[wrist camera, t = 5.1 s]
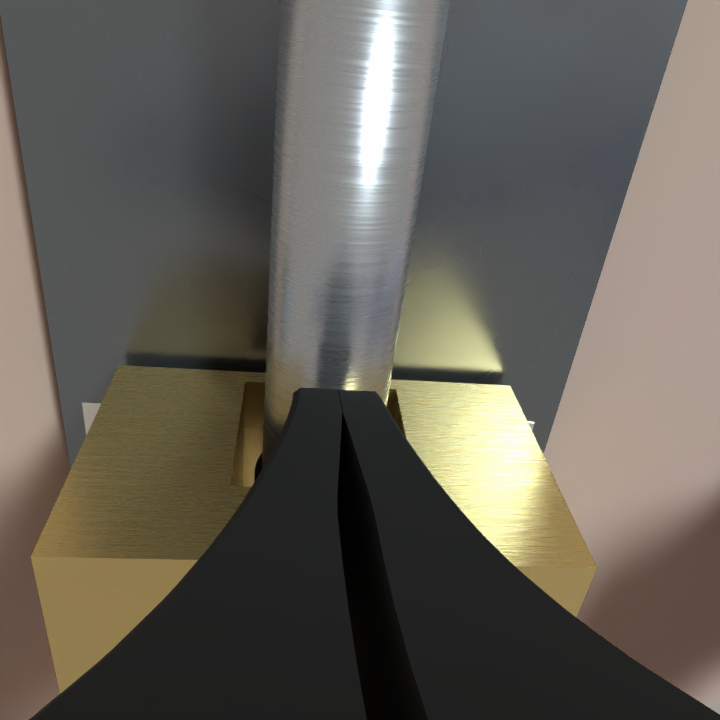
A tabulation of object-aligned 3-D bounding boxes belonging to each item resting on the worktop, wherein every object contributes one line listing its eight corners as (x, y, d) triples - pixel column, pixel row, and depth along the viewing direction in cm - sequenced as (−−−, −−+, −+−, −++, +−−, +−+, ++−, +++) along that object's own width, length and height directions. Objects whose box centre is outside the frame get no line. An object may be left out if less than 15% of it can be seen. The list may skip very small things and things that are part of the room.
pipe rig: (779, -353, 10) (1059, -538, 6) (484, 605, 21) (523, 743, 18) (-63, -515, 9) (-343, -876, 5) (99, 601, 20) (51, 749, 16)
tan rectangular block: (510, 385, 16) (597, 567, 11) (477, 509, 18) (538, 707, 13) (118, 364, 15) (30, 556, 10) (131, 499, 17) (63, 710, 12)
